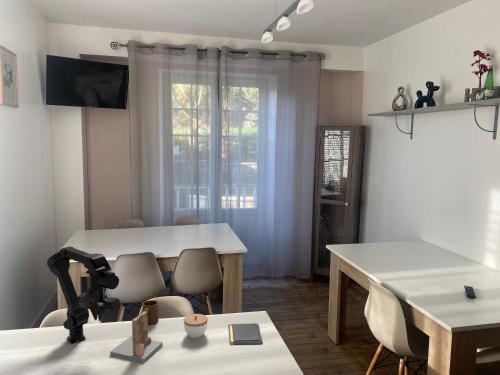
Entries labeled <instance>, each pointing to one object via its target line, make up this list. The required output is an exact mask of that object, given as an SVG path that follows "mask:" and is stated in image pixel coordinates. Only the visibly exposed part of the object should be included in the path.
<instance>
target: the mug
mask: <svg viewBox="0 0 500 375" xmlns="http://www.w3.org/2000/svg"><path fill="white" fill-rule="evenodd" d="M141 309H142V312H141V313H143V312H144V311H146V312H147V318H148V326H149V325H155V324H157V323H158V322H159V302H158V301H157V300H155V299H154V300H152V299H151V300H146V301H144V302H142V308H141Z"/></svg>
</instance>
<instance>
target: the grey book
mask: <svg viewBox="0 0 500 375" xmlns="http://www.w3.org/2000/svg"><path fill="white" fill-rule="evenodd" d="M227 326H228V340H229V341H228V342H229V346H259V345H260V346H261V345H263V344H264V342H263V337H262V334H261V330H260V325H259V323H253V322H252V323H232V324H228V325H227Z"/></svg>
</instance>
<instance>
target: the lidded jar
mask: <svg viewBox="0 0 500 375" xmlns="http://www.w3.org/2000/svg"><path fill="white" fill-rule="evenodd" d="M208 320H209V318H208V317H207V316H206V315H204V314H201V313H194V314H188V315H186V316H185V317H184V319H183V326H184V328H183V329H184V332H185V333H186V334H187V335H188V336H189V338H191V339H199V338H202V337H203V335H204V334H205V333H206V331H207V329H208Z"/></svg>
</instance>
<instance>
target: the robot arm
mask: <svg viewBox="0 0 500 375" xmlns="http://www.w3.org/2000/svg"><path fill="white" fill-rule="evenodd" d="M71 260H72V261H75V262H77V263H80V264H82V265H83V267H84V269H87V270H86V271H85V274H87V275H88V279H89V287H88V288H87V289H86V292H82V293H81V294H79V295H78V293H77V291H76V288H75V286H74V283H73V280H72V277H71V275H70V267H71V262H70V261H71ZM46 266H47V267H48V269H49V270H50V272H51V273H52V274H53V275H54V276H56V279H57V281H58V284H59V286H60V289H61V291H62V294H63V297H64V299H65V302H66V305H67V310H66V318H67V319H66V320H65V321H63V323H62V324H63V328H64V329H66V330H68V336H67V337H66V338H67V340H68V342H69V344H71V345H72V344H74V343H78V342H81V341H85V340H86V339H87V338H86V336H85V335H84V325H85V324H88V322H89V318H90V313H91V316H92V317H93V320H94V321H98V322H101V321H102V319H103V317H104V316H105V312H106V311H107V310H108V311H109V310H114V309H115V308H117V307H118V306H120V304H121V301H120V299H119V298H116V297H110V298H108V299H107V294H105V290H106V289H108V290H112V291H113V290H115V289H117V288H118V286H119V284H120V278H119V277H118V276H117V275H116V273H115V272H114V271H112V267H111V265H110V264H109V262H108V260H107V258H106V255H104V254H103V253H98V252H97V253H96V252H95V253H89V252H86V251H83V250H80V249H78V248H75V247H73V246H71V245H70V246H66V247H62V248H61V249H60V250H58V251H57V252H55V253H53V255H51V256H49V257H48V259H47V261H46Z"/></svg>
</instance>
